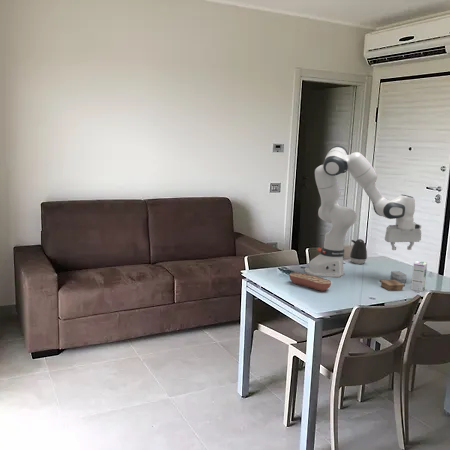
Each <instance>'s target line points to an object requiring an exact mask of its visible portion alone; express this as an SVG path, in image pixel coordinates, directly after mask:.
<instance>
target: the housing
mask: <svg viewBox="0 0 450 450" xmlns="http://www.w3.org/2000/svg"><path fill="white" fill-rule="evenodd" d="M389 280H396V281H398V282H400V283H402V284H406V282H407V274H406V273H404V272H402V271H400V270H399V271H397V270H391V272H390V277H389Z"/></svg>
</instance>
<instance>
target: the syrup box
mask: <svg viewBox="0 0 450 450" xmlns="http://www.w3.org/2000/svg"><path fill="white" fill-rule="evenodd" d="M427 268H428V262H426V261H419V260H416V261H415V262H413V268H412V278H411V285H410V287H411V288H410V289H411V290H412V291H417V292H423V291H424V290H425V288H426V287H425V286H426V277H427V270H428V269H427Z"/></svg>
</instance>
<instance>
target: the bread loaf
mask: <svg viewBox="0 0 450 450" xmlns="http://www.w3.org/2000/svg"><path fill="white" fill-rule="evenodd" d="M289 279H290V282H292V283H293V284H294V285H297V284H298V286H302V287H307V288H311V289H314V290H317V291H319V292H324V291H327V290H328V289H330V287H331V285H332V281H331V280H329V279H327V278H324V277H322V276H313V275H310V274H308V273H303V272H291V273H289Z"/></svg>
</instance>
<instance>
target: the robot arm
mask: <svg viewBox="0 0 450 450" xmlns="http://www.w3.org/2000/svg"><path fill="white" fill-rule="evenodd" d="M347 172H349V173H350V175H351V176H352V178H353V179H354V180H355V182H356V183H357V184H358V185H359V186H360V187H361V188H362V189H363V190H364V192H365V193H366V195H367V196H368V198H369V200H370V201H371V203H372V206H373V208H372V209H373V211H374V212H375V214H376V215H378V216H380V217H383V218H385V219H388V220H393V219H395V224H389V225H388V226H387V227H386V231H385V236H384V240H385V242H387V243H390V245H391V250H392V251H396V250H397V246H395V245H396V243H409V244H408V245H407V247H406V249H407V250H408V251H411V250H412V247H413V246H414V244H415V242H416V243H417V242H418V243H419V242H420V241H421V240H422V230H421V229H422V225H421V224H419V223H417V222H414V215H415V209H416V200H415V198H414V197H413V196H411V195H407V194H400V195H398V196H397V197H395V198H393V199H389V198H387V197H385V196H383V194H382V193H381V191H380V189H379V188H378V187H377V185H376V182H377V179H378V174H377V172H376V171H375V168H374V166H372V164H371V162H370V161H369V160H368V159H367V158H366V157H365V156H364V155H363V154H362V153H361V152H358V151H355V152H352V153H350V154H349V153H348V150H347V149H346V148H345V147H344V146H342V145H334V146H333V147H331V148H330V149H329V150H328V151H327V154H326V156H325V158H324V161H323V164H321V165H319V166H317V167H316V168H315V169H314V179H315V184H316V186H317V187H316V188H317V191H318V193H319V196H320V203H321V204H320V206H319V208H318V212H317V215H318V218H320V220H322V221H323V222H326V223H329V224H331V227H330V230H329V231H327V232H326V233H325V235H324V242H323V243H324V244H323V247H322V248H321V247H318V248H317V250H316V251H317V252H320V253H319V254H318V255H316V256H314V257H313V258H312V259H311V260H310V261H309V264H308V267H305V268H304V270H303V271H304V272H305V274H308V275H313V276H317V277H328V278H329V277H331V278H333V277H334V278H340V277H342V276H343V275H345V270H344V257H345V249H344V248H345V242H346V241H345V240H346V237H347V236H346V235H347V233H348V231H349V229H350V227H352V226H353V225H354V224H355V223H356V221H357V217H358V216H357V213H356V211H355V210H353V209H352V208H350V207H348V206H345V205H340V204H339V200H338V199H339V198H340V197H341V190H340V186H339V182H338V179H337V176H338V175H340V174H344V173H345V174H346V173H347Z"/></svg>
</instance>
